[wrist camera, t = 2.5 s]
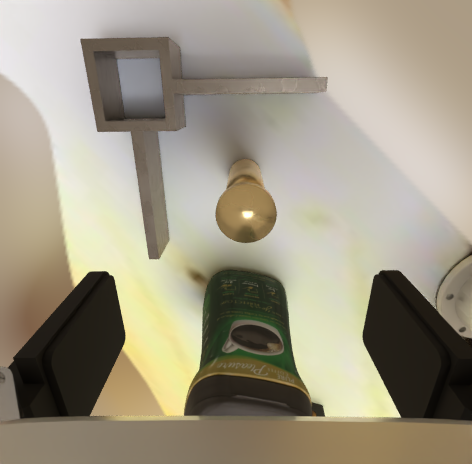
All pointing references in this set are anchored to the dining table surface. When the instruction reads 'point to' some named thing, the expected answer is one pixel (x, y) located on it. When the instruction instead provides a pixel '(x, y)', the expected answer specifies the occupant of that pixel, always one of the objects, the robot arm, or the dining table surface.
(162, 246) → the hinge
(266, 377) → the coffee jar
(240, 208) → the hinge pin
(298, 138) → the dining table surface
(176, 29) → the dining table surface
